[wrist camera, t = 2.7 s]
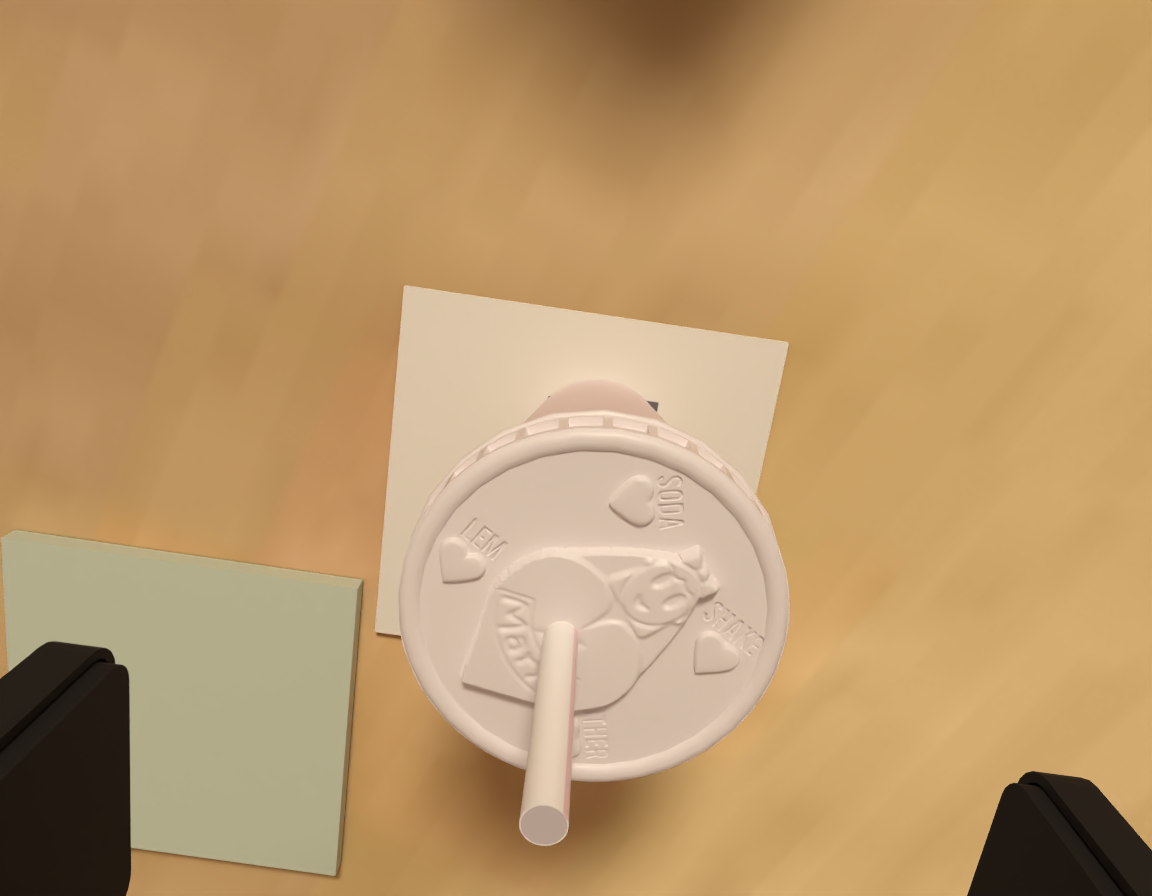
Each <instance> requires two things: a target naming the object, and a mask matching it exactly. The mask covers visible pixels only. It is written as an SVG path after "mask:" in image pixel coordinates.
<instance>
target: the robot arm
mask: <svg viewBox="0 0 1152 896" xmlns="http://www.w3.org/2000/svg"><path fill="white" fill-rule="evenodd" d="M130 876H131V813H130V694H129V672H128V670H127V668H126V667H125V666H124V665H120V664H115V658H114V656H113V654H112V651H110V650H109V649H107V648H102V647H95V646H87V645H80V644H72V643H65V642H57V641H51V642H47V643H45V644H43V645H41V646H40V647H39V648H37V649H36V650H35V651H34V652H32V653H31V654H30V655H29V656H28V657H26V658H25V659H24V660H23V661H22V662H20V663H19V664H18V665H17V666H15V667H14V668H13V669H12V670H11V671H9V672H8V673H7V674H6V675H4V676H3V677H2V678H1V679H0V896H126V893H127V890H128V887H129V882H130ZM967 896H1152V850H1151V849H1150V848H1149V847H1148V846H1147V844H1146V843H1145V842H1144V841H1143V840H1142V839H1141V837H1140V836H1139V835H1138V834H1137V833H1136V832H1135V831H1134V829H1133V828H1132V827H1131V826H1130V825H1129V824H1128V822H1127V821H1126V820H1125V819H1124V818H1123V817H1122V815H1121V814H1120V813H1119V812H1118V811H1117V810H1116V808H1115V807H1114V806H1113V805H1112V804H1111V803H1110V802H1109V800H1108V799H1107V798H1106V797H1105V796H1104V795H1103V793H1102V792H1101V791H1100V790H1099V789H1098V788H1097V787H1096V786H1095V785H1094V784H1093V783H1092V782H1091V781H1089V780H1087V779H1083V778H1079V777H1072V776H1064V775H1057V774H1049V773H1042V772H1034V771H1032V772H1028V773H1025V774H1024V775H1023V776H1022V777H1021V778H1020V780H1019V782H1018V783H1013V784H1009V785H1008V786H1007V787H1006V788H1005V789H1004V791H1003V793H1002V796H1001V799H1000V802H999V804H998V807H997V810H996V813H995V816H994V819H993V822H992V825H991V828H990V831H989V834H988V837H987V839H986V842H985V845H984V848H983V851H982V854H981V857H980V860H979V863H978V866H977V869H976V872H975V874H974V877H973V880H972V883H971V886H970V889H969V892H968V895H967Z"/></svg>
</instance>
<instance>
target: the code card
mask: <svg viewBox="0 0 1152 896" xmlns="http://www.w3.org/2000/svg"><path fill="white" fill-rule="evenodd" d="M788 345H789V343H788V342H785V341H778V340H772V339H765V338H758V337H751V336H745V335H738V334H731V333H725V332H718V331H711V330H704V329H698V328H691V327H684V326H677V325H671V324H664V323H657V322H650V321H644V320H637V319H630V318H623V317H617V316H610V315H603V314H597V313H590V312H583V311H576V310H570V309H563V308H556V307H549V306H543V305H536V304H529V303H522V302H516V301H509V300H502V299H495V298H489V297H482V296H475V295H469V294H462V293H455V292H448V291H442V290H435V289H428V288H421V287H415V286H408V285H405V286H404V292H403V304H402V315H401V327H400V339H399V351H398V363H397V375H396V386H395V398H394V410H393V422H392V434H391V446H390V458H389V469H388V481H387V493H386V505H385V517H384V529H383V540H382V552H381V564H380V576H379V588H378V600H377V611H376V623H375V632H379V633H386V634H393V635H400V636H401V634H400V629H399V620H398V586H399V578H400V572H401V568H402V564H403V559H404V556H405V553H406V550H407V548H408V545H409V542H410V539H411V535H412V533H413V531H414V529H415V527H416V524H417V522H418V520H419V518H420V516H421V513H422V511H423V509H424V507H425V505H426V502H427V500H428V498H429V496H430V494H431V493H432V492H433V491H434V489H435V488H436V487H437V486H438V485H439V483H440V482H441V481H442V480H443V479H444V478H445V476H446V475H447V474H448V473H449V472H450V471H451V469H452V468H453V467H454V466H455V465H456V464H457V462H458V461H459V460H460V459H461V458H462V457H463V456H465V455H466V454H468V453H469V452H471V451H472V450H474V449H475V448H477V447H478V446H480V445H481V444H483V443H484V442H486V441H487V440H489V439H490V438H492V437H493V436H495V435H496V434H498V433H499V432H501V431H502V430H504V429H507V428H510V427H513V426H516V425H519V424H522V423H524V422H525V421H526V420H527V419H528V418H529V417H530V416H531V415H532V414H533V413H534V412H535V411H536V410H537V409H538V408H539V407H540V406H541V405H542V404H543V403H544V402H545V401H546V400H547V399H548V398H549V397H550V396H551V395H552V394H554V393H555V392H557V391H558V390H560V389H562V388H563V387H565V386H568V385H570V384H573V383H576V382H580V381H585V380H606V381H612V382H615V383H619V384H621V385H624V386H626V387H628V388H630V389H632V390H633V391H635V392H636V393H638V394H639V395H640V396H642V397H643V398H644V399H645V400H646V401H647V402H648V403H649V404H650V405H651V407H652V408H653V409H654V410H655V411H656V412H657V413H658V414H659V415H660V416H661V417H662V418H663V419H664V420H665V421H666V423H667V424H668V425H670V426H672V427H674V428H677V429H679V430H681V431H683V432H685V433H687V434H689V435H691V436H693V437H696V438H698V439H700V440H702V441H704V442H705V443H706V444H707V445H708V446H710V447H711V448H712V449H713V450H714V451H715V452H717V453H718V454H719V455H720V456H721V457H722V458H724V459H725V460H726V461H727V462H728V463H729V464H731V465H732V466H733V467H734V468H735V469H736V470H738V471H739V472H740V473H741V474H742V475H743V477H744V478H745V480H746V481H747V483H748V484H749V486H750V487H751V489H752V490H753V492H754V493H755V495H756V492H757V488H758V483H759V478H760V474H761V469H762V465H763V460H764V456H765V451H766V446H767V442H768V437H769V433H770V428H771V423H772V419H773V414H774V410H775V405H776V400H777V396H778V391H779V387H780V382H781V378H782V373H783V368H784V364H785V359H786V355H787V350H788Z"/></svg>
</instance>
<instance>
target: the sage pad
mask: <svg viewBox="0 0 1152 896" xmlns="http://www.w3.org/2000/svg"><path fill="white" fill-rule="evenodd" d="M1 551H2V569H3V587H4V605H5V623H6V641H7V659H8V672H9V671H11V670H12V669H13V668H14V667H15V666H17V665H18V664H19V663H20V662H22V661H23V660H24V659H25V658H26V657H28V656H29V655H30V654H31V653H32V652H34V651H35V650H36V649H37V648H39V647H40V646H41V645H43V644H45V643H47V642H51V641H57V642H65V643H72V644H80V645H87V646H95V647H102V648H107V649H109V650H110V651H112V654H113V656H114V658H115V664H120V665H124V666H125V667H126V668H127V670H128V672H129V694H130V813H131V848H137V849H144V850H151V851H158V852H166V853H173V854H180V855H187V856H194V857H202V858H209V859H216V860H223V861H231V862H238V863H245V864H252V865H259V866H267V867H274V868H281V869H288V870H296V871H303V872H310V873H317V874H324V875H332V876H336V873H337V871H338V868H339V866H340V863H341V856H342V843H343V830H344V818H345V805H346V792H347V779H348V767H349V754H350V741H351V728H352V716H353V703H354V690H355V677H356V665H357V652H358V639H359V626H360V614H361V601H362V588H363V580H362V579H355V578H348V577H341V576H334V575H327V574H320V573H313V572H306V571H299V570H292V569H285V568H278V567H271V566H264V565H257V564H250V563H243V562H236V561H229V560H222V559H215V558H208V557H201V556H194V555H187V554H180V553H173V552H166V551H159V550H153V549H146V548H139V547H132V546H125V545H118V544H111V543H104V542H97V541H90V540H83V539H76V538H69V537H62V536H55V535H48V534H41V533H34V532H27V531H20V530H14V531H12V532H10V533H9V534H7V535H5V536H3V537H1Z"/></svg>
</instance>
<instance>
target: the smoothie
mask: <svg viewBox="0 0 1152 896" xmlns="http://www.w3.org/2000/svg"><path fill="white" fill-rule="evenodd" d="M789 611H790V601H789V586H788V581H787V575H786V569H785V566H784V563H783V559H782V556H781V552H780V550H779V546H778V543H777V540H776V537H775V533H774V530H773V527H772V524H771V521H770V517H769V514H768V513H767V511H766V510H765V508H764V507H763V505H762V504H761V502H760V501H759V499H758V498H757V496H756V495H755V493H754V492H753V490H752V489H751V487H750V486H749V484H748V483H747V481H746V480H745V478H744V477H743V475H742V474H741V473H740V472H739V471H738V470H736V469H735V468H734V467H733V466H732V465H731V464H729V463H728V462H727V461H726V460H725V459H724V458H722V457H721V456H720V455H719V454H718V453H717V452H715V451H714V450H713V449H712V448H711V447H710V446H708V445H707V444H706V443H705V442H704V441H702V440H700V439H698V438H696V437H693V436H691V435H689V434H687V433H685V432H683V431H681V430H679V429H677V428H674V427H672V426H670V425H668V424H667V423H666V421H665V420H664V419H663V418H662V417H661V416H660V415H659V414H658V413H657V412H656V411H655V410H654V409H653V408H652V407H651V405H650V404H649V403H648V402H647V401H646V400H645V399H644V398H643V397H642V396H640V395H639V394H638V393H636V392H635V391H633V390H632V389H630V388H628V387H626V386H624V385H621V384H619V383H615V382H612V381H606V380H585V381H580V382H576V383H573V384H570V385H568V386H565V387H563V388H562V389H560V390H558V391H557V392H555V393H554V394H552V395H551V396H550V397H549V398H548V399H547V400H546V401H545V402H544V403H543V404H542V405H541V406H540V407H539V408H538V409H537V410H536V411H535V412H534V413H533V414H532V415H531V416H530V417H529V418H528V419H527V420H526V421H525V422H524V423H522V424H519V425H516V426H513V427H510V428H507V429H504V430H502V431H501V432H499V433H498V434H496V435H495V436H493V437H492V438H490V439H489V440H487V441H486V442H484V443H483V444H481V445H480V446H478V447H477V448H475V449H474V450H472V451H471V452H469V453H468V454H466V455H465V456H463V457H462V458H461V459H460V460H459V461H458V462H457V464H456V465H455V466H454V467H453V468H452V469H451V471H450V472H449V473H448V474H447V475H446V476H445V478H444V479H443V480H442V481H441V482H440V483H439V485H438V486H437V487H436V488H435V489H434V491H433V492H432V493H431V494H430V496H429V498H428V500H427V502H426V505H425V507H424V509H423V511H422V513H421V516H420V518H419V520H418V522H417V524H416V527H415V529H414V531H413V533H412V535H411V539H410V542H409V545H408V548H407V550H406V553H405V556H404V559H403V564H402V568H401V572H400V578H399V586H398V620H399V629H400V634H401V639H402V643H403V647H404V650H405V653H406V656H407V659H408V662H409V664H410V667H411V669H412V671H413V673H414V676H415V678H416V679H417V681H418V683H419V685H420V687H421V688H422V690H423V692H424V693H425V695H426V696H427V698H428V699H429V700H430V702H431V703H432V705H433V706H434V707H435V708H436V710H437V711H438V712H439V713H440V714H441V715H442V717H443V718H444V719H445V720H446V721H447V722H448V723H449V724H450V725H451V726H452V727H453V728H454V729H455V730H456V731H458V732H459V733H460V734H461V735H463V736H464V737H465V738H466V739H468V740H469V741H470V742H471V743H473V744H474V745H476V746H477V747H479V748H480V749H482V750H483V751H485V752H487V753H488V754H490V755H492V756H494V757H496V758H498V759H499V760H501V761H504V762H506V763H508V764H510V765H513V766H515V767H517V768H520V769H523V770H526V774H525V781H524V789H523V797H522V804H521V812H520V820H519V828H520V831H521V833H522V835H523V836H524V838H526V839H527V840H528V841H529V842H531V843H533V844H536V845H541V846H549V845H553V844H556V843H558V842H560V841H561V840H562V839H563V838H564V837H565V836H566V834H567V832H568V829H569V811H570V791H571V781H581V782H610V781H621V780H628V779H634V778H639V777H644V776H648V775H651V774H655V773H659V772H662V771H665V770H667V769H670V768H673V767H676V766H678V765H680V764H682V763H684V762H687V761H689V760H691V759H693V758H695V757H696V756H698V755H700V754H702V753H703V752H705V751H707V750H708V749H710V748H711V747H713V746H714V745H715V744H717V743H718V742H720V741H721V740H722V739H724V738H725V737H726V736H727V735H728V734H729V733H731V732H732V731H733V730H734V729H735V728H736V727H737V726H738V725H739V724H740V723H741V722H742V721H743V720H744V719H745V718H746V717H747V716H748V715H749V713H750V712H751V711H752V710H753V708H754V707H755V706H756V705H757V703H758V702H759V701H760V699H761V697H762V696H763V694H764V693H765V691H766V690H767V688H768V686H769V684H770V682H771V680H772V678H773V676H774V675H775V673H776V670H777V667H778V665H779V662H780V660H781V657H782V654H783V650H784V646H785V642H786V638H787V632H788V625H789Z"/></svg>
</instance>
